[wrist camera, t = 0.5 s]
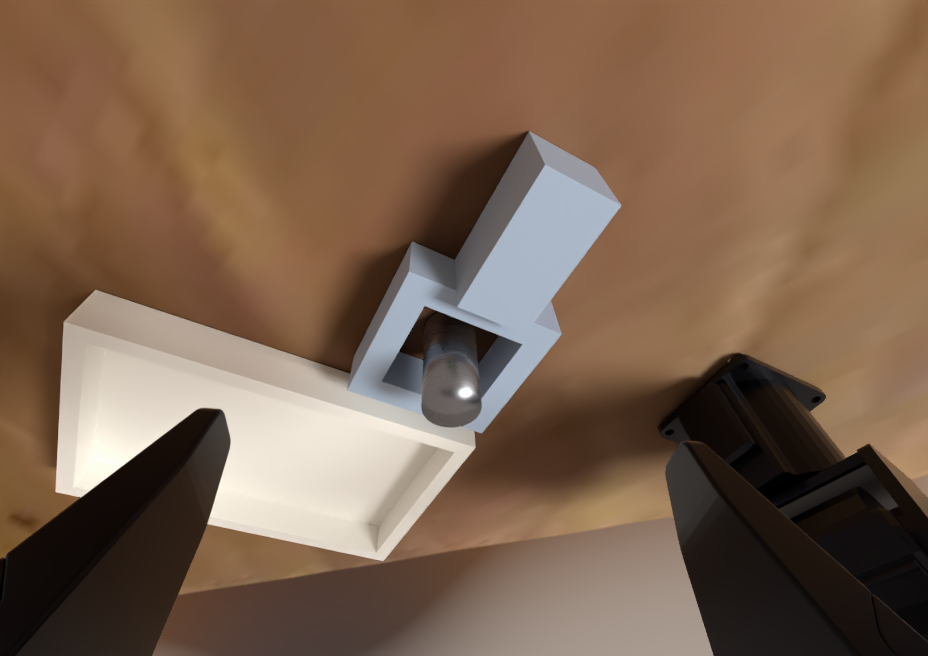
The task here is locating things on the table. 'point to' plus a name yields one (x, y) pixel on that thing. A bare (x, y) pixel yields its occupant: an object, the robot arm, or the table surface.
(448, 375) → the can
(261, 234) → the table surface
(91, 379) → the tray
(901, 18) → the table surface
